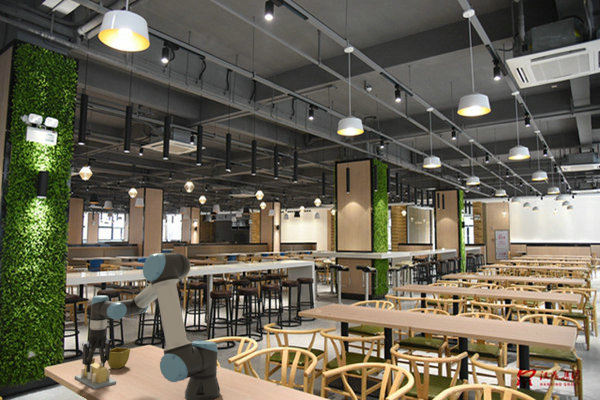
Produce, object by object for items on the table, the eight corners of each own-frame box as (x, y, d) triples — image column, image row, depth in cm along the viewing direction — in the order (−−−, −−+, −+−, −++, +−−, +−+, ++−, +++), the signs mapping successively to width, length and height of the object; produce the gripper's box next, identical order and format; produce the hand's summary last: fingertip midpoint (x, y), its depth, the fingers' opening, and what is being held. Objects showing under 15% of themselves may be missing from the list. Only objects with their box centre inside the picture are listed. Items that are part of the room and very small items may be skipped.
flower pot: (119, 370, 215) (120, 352, 216) (104, 369, 217) (105, 351, 218) (129, 365, 224) (130, 348, 225) (115, 364, 225) (116, 347, 226)
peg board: (116, 383, 195) (116, 372, 196) (94, 389, 188) (95, 377, 188) (95, 373, 209) (96, 363, 210) (74, 378, 202) (75, 367, 202)
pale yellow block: (106, 381, 195) (107, 363, 196) (98, 383, 192) (99, 365, 193) (91, 373, 205) (92, 357, 206) (84, 375, 203) (85, 358, 203)
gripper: (112, 324, 210) (109, 371, 208) (76, 329, 197) (72, 380, 195) (119, 326, 205) (116, 375, 203) (83, 332, 192) (79, 384, 190)
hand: (94, 377), depth 199 cm, fingers open, 4 cm apart
